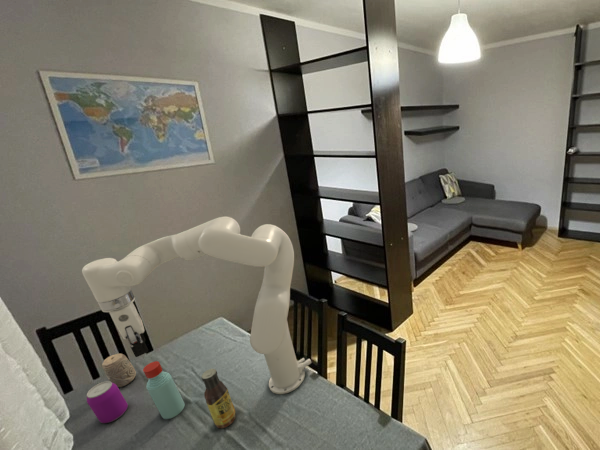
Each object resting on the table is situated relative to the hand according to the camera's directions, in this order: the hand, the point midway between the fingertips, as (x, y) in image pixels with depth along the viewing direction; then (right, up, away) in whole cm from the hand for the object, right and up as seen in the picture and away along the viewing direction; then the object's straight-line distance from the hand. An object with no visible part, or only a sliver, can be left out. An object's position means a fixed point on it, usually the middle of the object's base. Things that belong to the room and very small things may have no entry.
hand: (140, 348), depth 96 cm
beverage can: (-18, -27, +11) cm, 34 cm away
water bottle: (+2, -25, +10) cm, 28 cm away
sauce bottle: (+24, -26, +6) cm, 35 cm away
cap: (+1, -10, +4) cm, 10 cm away
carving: (-25, -23, +24) cm, 42 cm away
